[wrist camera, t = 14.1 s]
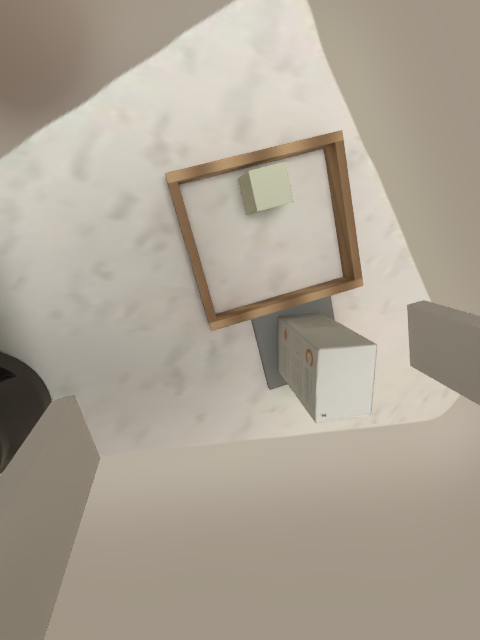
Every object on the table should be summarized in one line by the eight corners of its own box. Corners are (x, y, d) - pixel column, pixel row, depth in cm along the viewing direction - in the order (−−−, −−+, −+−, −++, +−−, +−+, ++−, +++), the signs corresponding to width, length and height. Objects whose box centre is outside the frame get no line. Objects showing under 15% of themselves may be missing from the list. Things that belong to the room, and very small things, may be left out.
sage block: (246, 214, 40) (257, 211, 34) (238, 179, 39) (248, 170, 33) (277, 205, 40) (293, 202, 35) (270, 171, 39) (285, 161, 33)
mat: (268, 387, 47) (269, 389, 46) (250, 315, 43) (251, 316, 43) (340, 364, 48) (342, 366, 47) (328, 292, 44) (330, 293, 44)
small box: (320, 367, 47) (372, 417, 34) (277, 371, 46) (314, 425, 33) (323, 311, 44) (379, 343, 32) (277, 315, 43) (317, 349, 31)
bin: (209, 324, 43) (211, 331, 40) (166, 177, 37) (165, 173, 34) (351, 282, 45) (363, 285, 42) (330, 137, 39) (342, 130, 36)
